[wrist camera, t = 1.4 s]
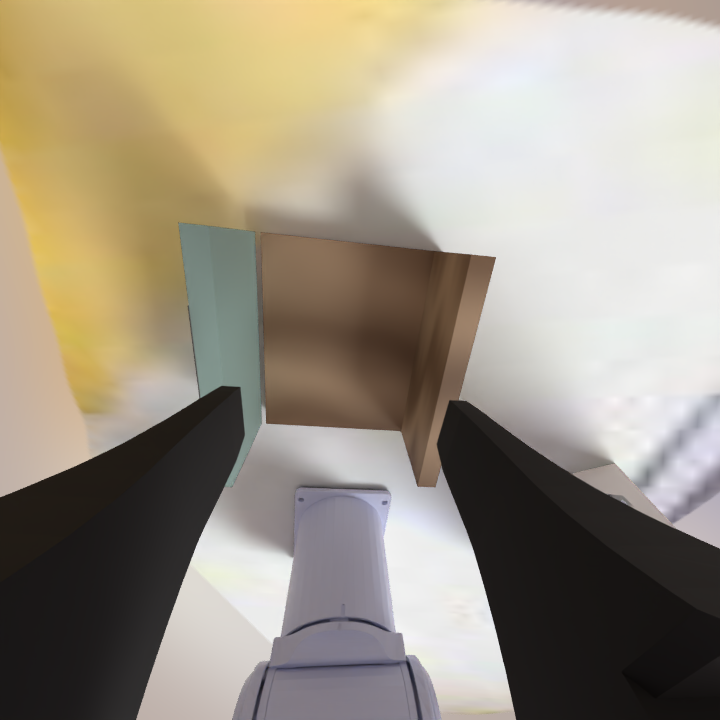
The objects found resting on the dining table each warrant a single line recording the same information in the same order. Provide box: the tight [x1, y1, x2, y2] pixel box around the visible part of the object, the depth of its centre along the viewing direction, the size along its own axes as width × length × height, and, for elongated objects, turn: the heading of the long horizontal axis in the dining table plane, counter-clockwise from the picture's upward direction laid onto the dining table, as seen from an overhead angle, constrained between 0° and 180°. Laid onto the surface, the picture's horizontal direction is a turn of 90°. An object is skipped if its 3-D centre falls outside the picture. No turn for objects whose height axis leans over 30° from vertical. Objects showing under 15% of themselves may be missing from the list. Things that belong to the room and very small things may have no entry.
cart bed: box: [261, 232, 496, 487], centre depth 16 cm, size 12×10×6 cm
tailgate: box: [179, 223, 262, 487], centre depth 15 cm, size 12×1×6 cm, turn 174°
